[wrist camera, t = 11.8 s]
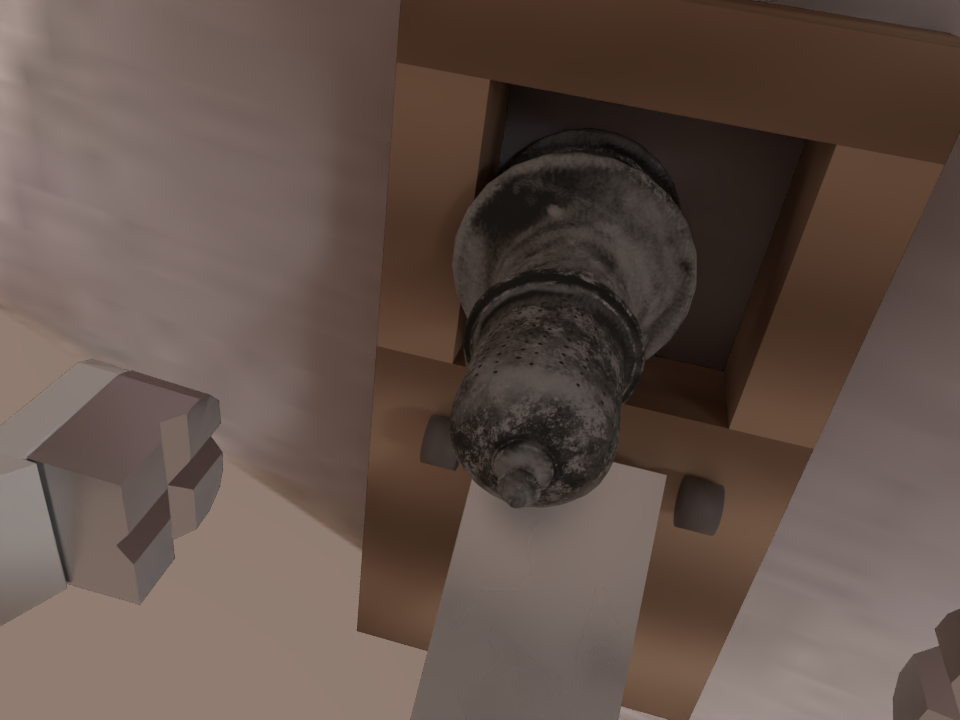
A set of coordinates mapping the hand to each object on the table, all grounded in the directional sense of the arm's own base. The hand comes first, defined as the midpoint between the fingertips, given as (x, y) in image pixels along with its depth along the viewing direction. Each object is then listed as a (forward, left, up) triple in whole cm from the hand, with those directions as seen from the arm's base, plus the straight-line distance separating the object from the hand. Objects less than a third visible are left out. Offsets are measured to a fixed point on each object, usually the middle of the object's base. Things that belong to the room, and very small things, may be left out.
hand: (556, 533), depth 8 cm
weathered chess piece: (+2, -1, -14) cm, 14 cm away
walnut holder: (+7, 0, -14) cm, 16 cm away
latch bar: (+12, 0, -7) cm, 14 cm away
